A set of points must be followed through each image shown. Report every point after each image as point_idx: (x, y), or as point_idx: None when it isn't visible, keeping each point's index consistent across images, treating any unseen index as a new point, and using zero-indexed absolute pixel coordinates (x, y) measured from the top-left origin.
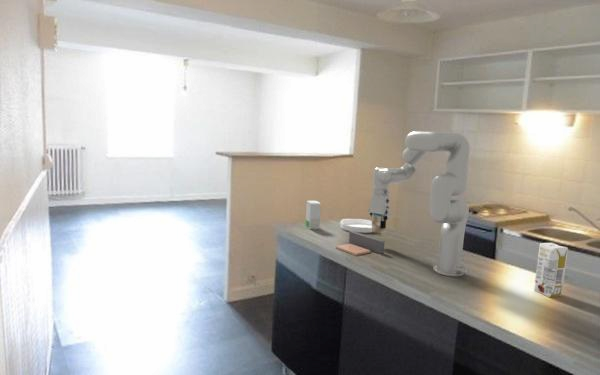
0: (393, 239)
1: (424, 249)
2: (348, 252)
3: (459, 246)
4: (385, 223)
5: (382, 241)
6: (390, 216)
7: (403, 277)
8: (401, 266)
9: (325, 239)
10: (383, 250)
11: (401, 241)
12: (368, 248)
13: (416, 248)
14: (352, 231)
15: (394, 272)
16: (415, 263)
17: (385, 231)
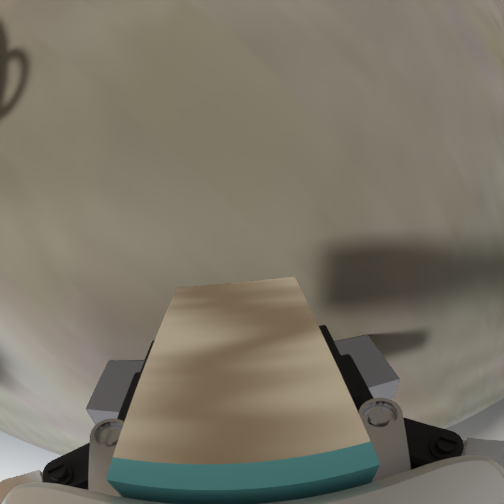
0: (146, 29)
1: (425, 48)
2: None
3: None
4: (363, 385)
5: (394, 392)
6: (495, 440)
7: (493, 389)
8: (477, 356)
9: (55, 414)
10: (373, 345)
11: (218, 10)
12: None
13: (397, 64)
14: (95, 414)
15: (473, 396)
16: (500, 290)
17: (295, 280)
